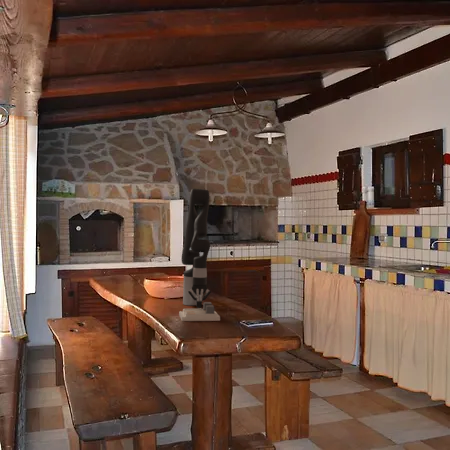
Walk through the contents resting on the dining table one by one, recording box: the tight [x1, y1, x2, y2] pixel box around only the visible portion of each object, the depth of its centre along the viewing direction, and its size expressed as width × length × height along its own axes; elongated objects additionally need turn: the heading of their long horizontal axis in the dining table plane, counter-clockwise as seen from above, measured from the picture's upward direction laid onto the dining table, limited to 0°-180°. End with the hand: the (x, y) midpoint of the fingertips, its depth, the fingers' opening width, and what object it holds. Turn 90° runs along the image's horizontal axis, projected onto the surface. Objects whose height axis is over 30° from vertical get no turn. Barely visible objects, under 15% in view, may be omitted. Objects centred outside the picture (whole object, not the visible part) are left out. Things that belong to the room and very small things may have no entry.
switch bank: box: [178, 308, 221, 322], centre depth 293 cm, size 16×20×4 cm
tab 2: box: [206, 304, 215, 314], centre depth 290 cm, size 4×4×5 cm
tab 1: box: [202, 301, 213, 310], centre depth 299 cm, size 4×4×5 cm
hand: (198, 307), depth 298 cm, fingers closed
